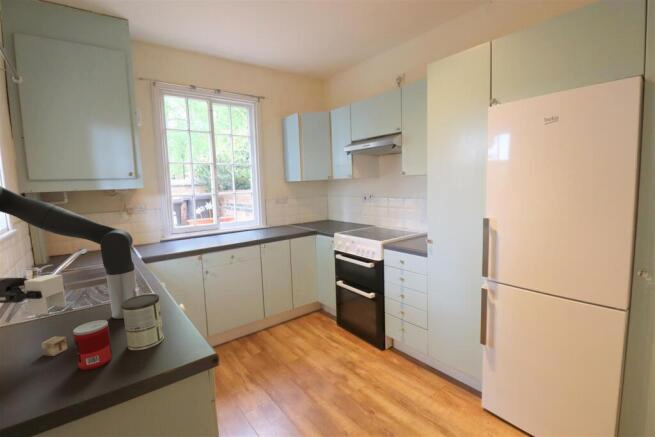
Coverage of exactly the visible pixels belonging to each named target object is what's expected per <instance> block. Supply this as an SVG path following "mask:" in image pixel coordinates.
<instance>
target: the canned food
mask: <svg viewBox="0 0 655 437" xmlns="http://www.w3.org/2000/svg"><path fill="white" fill-rule="evenodd" d="M108 322H109V321H107V320H104V319H100V320H99V319H97V320H92V321H89V322H86V323H83V324H81V325H78V326H77V327H75V328H74V329H73V330H72V334H73V335H72V336H73V342H74V347H75V354H76V359H77V360H76V361H77V365H78V368H79V369H80V370H82V371H88V370H89V371H90V370H95V369H97V368H100V367H102V366H104V365H106V364H107V363H109V362H110V361H111V360H112V358H113V349H112V348H113V347H112V342H111V341H112V340H111V334H110V328H109V323H108Z"/></svg>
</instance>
